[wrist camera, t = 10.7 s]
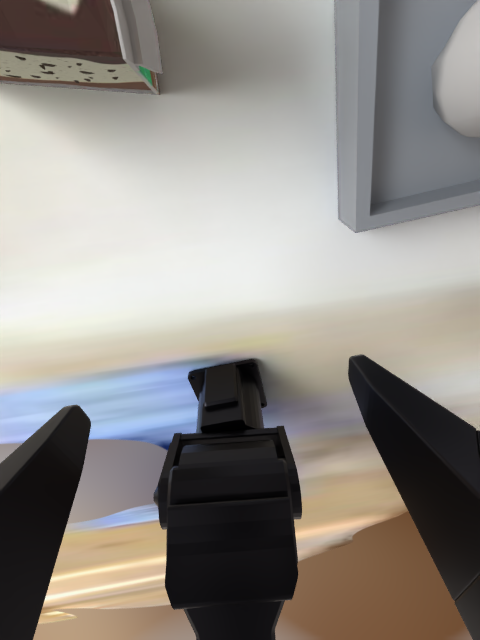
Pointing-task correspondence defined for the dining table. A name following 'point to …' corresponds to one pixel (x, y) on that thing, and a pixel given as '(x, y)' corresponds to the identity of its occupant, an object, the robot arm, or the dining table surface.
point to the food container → (80, 44)
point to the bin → (397, 115)
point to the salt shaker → (460, 76)
